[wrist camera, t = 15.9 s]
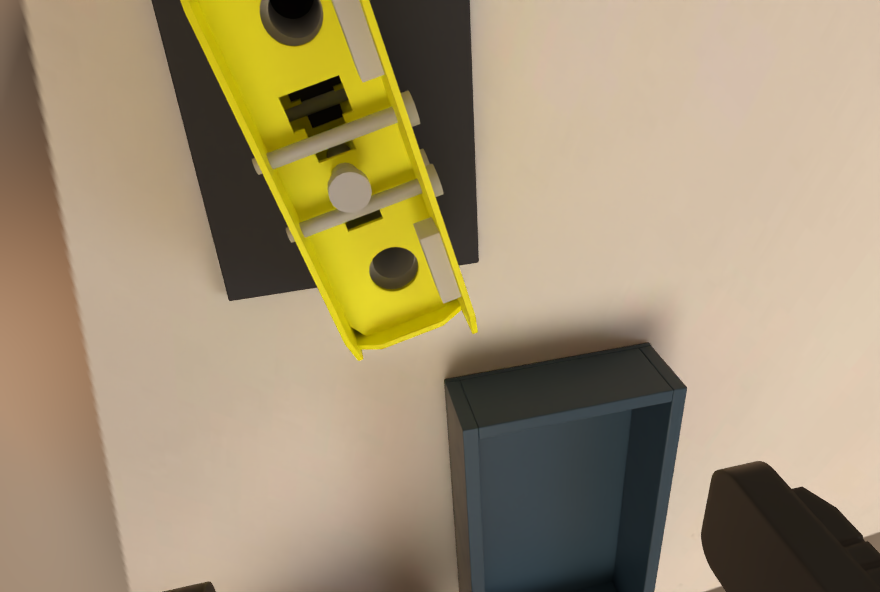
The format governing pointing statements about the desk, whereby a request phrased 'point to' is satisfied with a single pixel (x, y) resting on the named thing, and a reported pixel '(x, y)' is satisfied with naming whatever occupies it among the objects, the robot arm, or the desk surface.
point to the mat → (230, 158)
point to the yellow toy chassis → (340, 163)
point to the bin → (564, 472)
